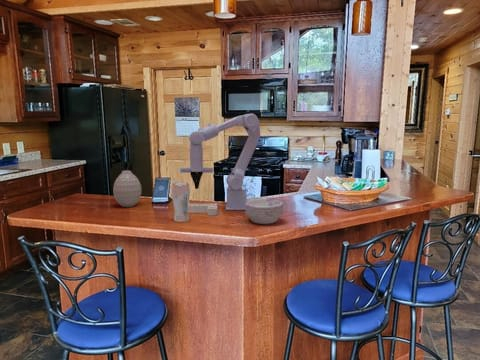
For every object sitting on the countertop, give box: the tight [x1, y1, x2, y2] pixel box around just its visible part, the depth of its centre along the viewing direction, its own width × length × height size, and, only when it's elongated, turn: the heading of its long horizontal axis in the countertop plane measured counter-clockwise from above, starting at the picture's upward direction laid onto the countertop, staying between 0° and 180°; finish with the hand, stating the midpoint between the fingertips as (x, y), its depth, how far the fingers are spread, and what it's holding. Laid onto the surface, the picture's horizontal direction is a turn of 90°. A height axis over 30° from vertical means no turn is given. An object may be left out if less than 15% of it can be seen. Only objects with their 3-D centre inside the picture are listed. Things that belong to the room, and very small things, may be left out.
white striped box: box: [188, 202, 218, 214], centre depth 166 cm, size 13×6×3 cm, turn 91°
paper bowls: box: [244, 198, 284, 225], centre depth 149 cm, size 15×15×8 cm
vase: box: [112, 170, 142, 208], centre depth 176 cm, size 13×13×17 cm
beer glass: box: [171, 182, 191, 223], centre depth 150 cm, size 7×7×15 cm
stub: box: [207, 205, 218, 216], centre depth 160 cm, size 4×5×3 cm
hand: (196, 188), depth 167 cm, fingers closed
